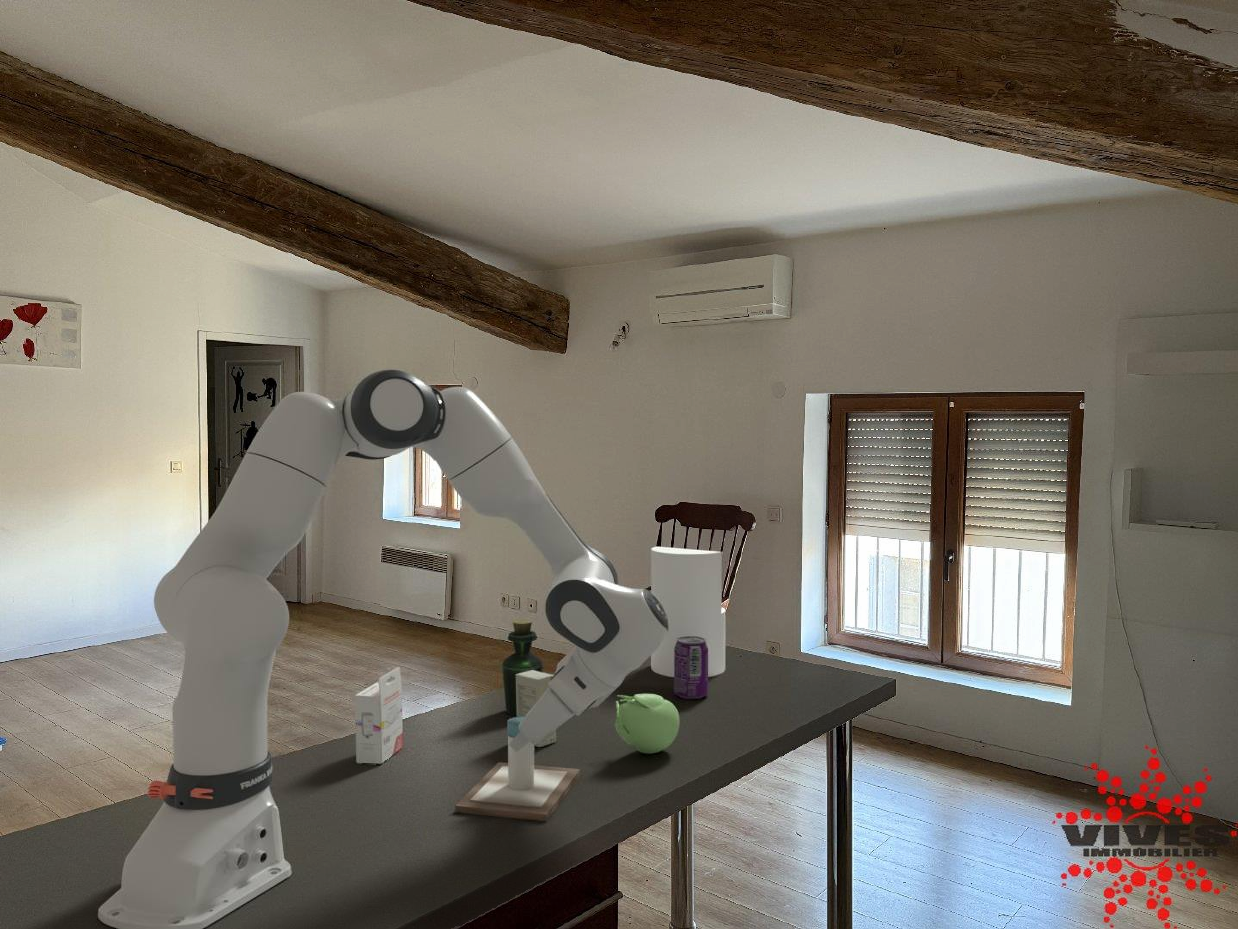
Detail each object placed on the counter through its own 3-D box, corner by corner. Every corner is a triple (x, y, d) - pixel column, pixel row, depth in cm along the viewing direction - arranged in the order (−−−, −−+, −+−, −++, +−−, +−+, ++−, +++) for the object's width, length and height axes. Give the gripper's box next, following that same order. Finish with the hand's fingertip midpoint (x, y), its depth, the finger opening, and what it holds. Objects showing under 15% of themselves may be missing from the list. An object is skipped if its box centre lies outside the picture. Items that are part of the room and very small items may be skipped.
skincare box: (557, 742, 166) (557, 675, 166) (539, 748, 163) (538, 679, 163) (533, 734, 171) (532, 668, 170) (515, 740, 168) (514, 673, 167)
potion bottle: (533, 719, 179) (533, 627, 178) (495, 715, 182) (494, 624, 181) (549, 707, 187) (549, 618, 186) (512, 703, 189) (512, 616, 189)
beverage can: (713, 694, 196) (714, 638, 196) (698, 703, 190) (698, 644, 190) (684, 689, 200) (684, 634, 199) (668, 697, 194) (668, 640, 193)
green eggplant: (631, 738, 169) (631, 678, 168) (687, 749, 163) (687, 687, 163) (597, 759, 158) (597, 695, 158) (655, 771, 153) (655, 705, 152)
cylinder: (703, 682, 205) (703, 556, 204) (637, 671, 215) (637, 550, 214) (737, 665, 220) (738, 547, 219) (674, 655, 229) (674, 542, 228)
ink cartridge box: (377, 746, 164) (376, 664, 164) (403, 748, 163) (402, 665, 163) (354, 763, 156) (353, 677, 155) (381, 766, 155) (380, 678, 154)
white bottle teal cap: (529, 791, 141) (529, 726, 141) (503, 789, 142) (503, 724, 142) (538, 781, 145) (538, 718, 145) (512, 779, 146) (512, 716, 146)
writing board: (546, 821, 133) (546, 813, 133) (455, 812, 136) (455, 804, 136) (579, 775, 151) (579, 768, 151) (498, 768, 154) (498, 761, 154)
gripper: (588, 646, 151) (531, 701, 154) (551, 679, 131) (486, 743, 134) (615, 675, 150) (557, 730, 153) (582, 713, 130) (516, 776, 133)
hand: (524, 736), depth 143 cm, fingers open, 8 cm apart
